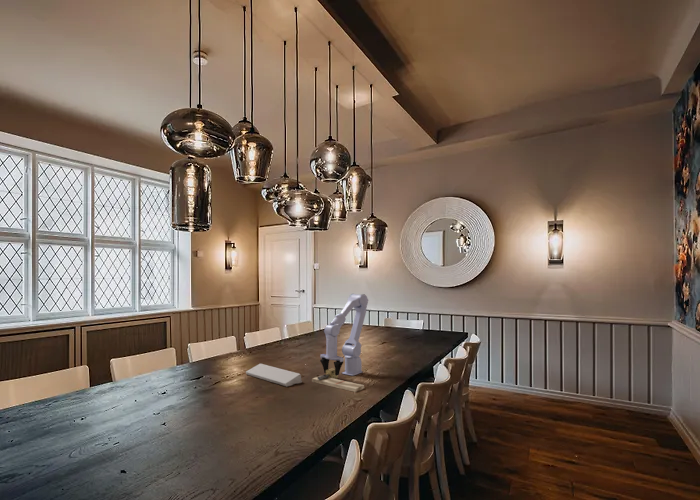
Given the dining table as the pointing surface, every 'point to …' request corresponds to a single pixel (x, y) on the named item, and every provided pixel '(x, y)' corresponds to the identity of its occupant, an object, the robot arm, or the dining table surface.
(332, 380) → the maple board
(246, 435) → the dining table surface
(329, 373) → the marking gauge
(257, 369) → the decorative molding
